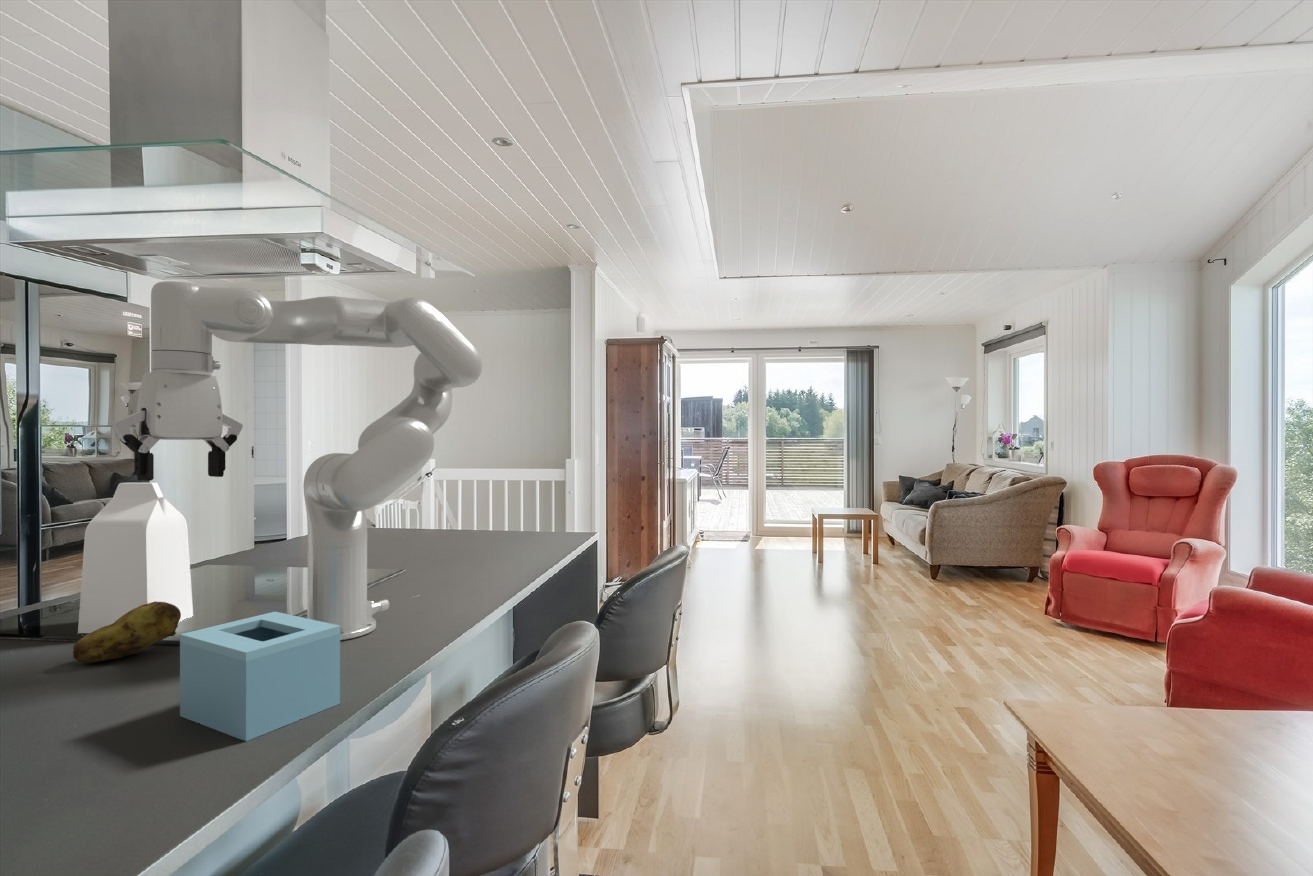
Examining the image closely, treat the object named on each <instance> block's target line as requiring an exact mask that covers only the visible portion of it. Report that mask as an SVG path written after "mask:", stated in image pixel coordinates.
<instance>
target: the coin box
mask: <svg viewBox="0 0 1313 876" xmlns="http://www.w3.org/2000/svg"><path fill="white" fill-rule="evenodd" d="M340 704H341V640H340V626H339V625H334V624H330V623H325V622H321V621H316V620H312V619H307V617H302V616H297V615H292V614H287V613H284V612H280V611H272V612H268V613H267V612H266V613H264V614H259V615H254V616H251V617H246V618H243V619H239V620H234V621H230V622H229V621H228V622H225V623H222V624H218V625H214V626H210V627H209V626H208V627H206V628H205V627H204V628H201V629H195V630H192V631H188V632H184V633H180V634H179V716H180V717H181V718H184V719H186V720H189V721H192V722H194V723H197V724H199V723H200V725H202V726H205V727H207V728H210V729H213V730H216V731H218V732H220V733H223V734H226V735H228V736H231V737H233V738H236V739H238V740H241V741H244V742H248V741H251V740H253V739H256V738H258V737H261V736H263V735H266V734H268V733H271V732H273V731H276V730H279V729H280V728H283V727H285V726H288V725H290V724H292V723H295V722H298V721H301V720H302V719H305V718H308V717H310V715H311V716H314V715H315V714H318V713H320V712H323V711H326V710H328V709H330V708H333V707H335V706H338V705H340ZM300 719H301V720H300Z"/></svg>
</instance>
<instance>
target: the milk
mask: <svg viewBox="0 0 1313 876" xmlns="http://www.w3.org/2000/svg"><path fill="white" fill-rule="evenodd" d="M188 531H189V530H188V523H187V520H186V518H185V516H184V515H183V514H182V513H181V512H180V511H179V510H178V509H177V508H175V507H174V506H173V504H172V503H170V501H168V500H167V499H166V498H165V497H164V494H163V492H162V490H161V488H160V485H159V484H158V482H120V483H118V485H117V487H116V489H115V491H114V494H113V497H112V498H111V499H110V500H109V501H108V502H107V504H106V505H105V506H103V508H101V510H100V511H99V512H98V513H97V514H96V515H95V516H94V517H93V518H92V519H91V520H90V521H89V523H88V524H87V526H86V528H85V532H84V539H83V541H84V542H83V553H82V554H83V555H82V568H81V569H82V570H81V582H80V583H81V585H80V597H79V598H80V599H79V613H78V624H77V625H78V626H77V634H78V633H91V632H93V631H95V630H97V629H100V628H102V627H104V626H108V625H111V624H113V623H114V622H115V621H116V620H118V619H119V618H120V617H122V616H123V615H124V614H126V613H127V612H129V611H131V610H132V609H135V608H137V607H139V606H142V605H144V604H148V603H152V602H155V601H157V602H166V603H169V604H172V605H175V606H176V607H177V608H178V609H179V610H180V613H181V618H180V620H179V623H181V622H183V621H182V620H184V619H186V618H189V619H191V618H193V617H194V607H193V591H192V579H191V578H192V575H191V562H190V561H191V559H190V546H189V533H188ZM192 616H193V617H192ZM190 617H191V618H190ZM186 620H187V619H186ZM180 621H181V622H180ZM184 621H185V620H184Z"/></svg>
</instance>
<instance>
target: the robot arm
mask: <svg viewBox="0 0 1313 876" xmlns="http://www.w3.org/2000/svg"><path fill="white" fill-rule="evenodd" d="M213 336H214V337H216V338H217V339H220V340H223V341H225V342H233V343H248V344H250V343H251V344H252V343H253V344H272V345H273V344H274V345H276V344H277V345H278V344H280V345H282V344H285V345H286V344H287V345H288V344H290V345H312V346H352V347H373V348H374V347H375V348H396V349H397V348H405V347H411V346H414V347H415V348H416V349H417V350H418V351H419V352H420V353H419V354H418V355H417V356H416V359H415V361H414V365H413V385H412V386H413V387H412V390H411V392H410V393H409V395H407V397H405V399H403V400H402V401H401V402H400V403H398V404H397V405H396V406H394V407H393V408H392V409H390V410H389V411H387V412H386V413H385V414H384V415H381V417H379V418H378V419H376V420H375V421H373V422H372V423H370V424H369V425H368V426H366V427H365V428H364V430H363V431H362V432H361V434H360V435H359V438H358V445H357V448H358V449H357V450H356V451H354V452H353V453H344V452H343V453H341V452H338V453H337V452H335V453H334V452H333V453H332V452H331V453H327V454H325V455H322V456H320V457H318V458H316V459H315V460H313V462H311V464H310V465H309V466H308V467H307V469H306V472H305V474H304V477H303V497H304V503H305V505H304V506H305V511H306V520H307V593H306V594H307V609H306V611H307V614H306V615H307V616H306V618H307V619H312V620H316V621H321V622H325V623H330V624H334V625H339V626H340V641H343V640H349V639H355V638H358V637H362V636H365V635H367V634H369V633H371V632H373V631H375V629H376V628H377V621H376V620H377V619H375V618H374V617H373V616H374V615H375V614H376V613H377V612H383V611H386V610H388V609H389V608H390V601H389V600H388V599H382V600H378V601H375V602H374V601H373V600H368V524H367V523H368V522H367V516H366V511H367V510H369V509H372V508H374V507H375V506H377V505H379V504H381V503H382V502H383V501H385V500H386V499H387V498H388V497H389V496H391V495H392V494H393V493H394V492H396V491H397V490H398V489H399V488H400V487H401V486H403V485H404V484H405V483H407V481H409V480H410V479H411V478H412V477H414V476H415V475H416V474H417V473H418V472H419V471H421V470H422V468H423V467H424V466H425V465H427V463H428V462H429V460H430V459H431V457H432V455H433V452H434V449H435V438H434V434H435V433H436V432H437V431H439V430H440V429H441V428H442V426H444V424H445V423H446V422H447V420H448V419H449V416H450V413H451V410H452V403H453V389H454V388H455V389H456V388H464V387H468V386H470V385H473V384H474V383H476V382H477V380H478V379H479V377H480V376H481V374H482V371H483V362H482V358H481V355H480V353H479V351H478V350H477V349H476V347H475V345H473V343H472V342H471V341H470V340H469V339H467V338H466V337H465V335H464V334H463V333H462V332H461V331H460V330H459V329H458V328H457V327H456V326H455V325H454V324H453V323H452V322H451V320H449V319H448V318H447V317H446V316H445V315H444V314H443V313H442V312H441V311H440V310H438V309H437V308H436V307H435V306H434V305H432V304H431V303H430V302H429V301H427V300H425V299H424V298H419V297H415V296H413V297H406V298H403V299H400V300H397V301H396V300H395V301H386V300H376V299H375V300H374V299H366V298H365V299H364V298H357V297H356V298H355V297H354V298H353V297H342V296H336V295H335V296H334V295H332V296H331V295H329V296H328V295H327V296H326V295H325V296H318V297H311V298H304V299H299V300H298V299H297V300H269V299H267V298H266V296H265V295H263V294H262V293H260V292H258V291H256V290H253V289H250V288H243V287H211V286H202V285H199V284H197V283H192V282H184V281H172V280H165V281H158V282H157V283H155V284H153V286H152V287H151V291H150V371H149V372H143V376H142V379H141V384H140V386H139V387H140V388H139V392H138V399H137V407H136V412H134V413H131V414H129V415H127V416H125V417H122V418H120V419H117V420H114V421H113V422H112V423H111V427H112V428H113V430H114V431H115V434H116V435H117V436H118V437H119V441H120V442H121V443H122V444H124V446H126V447H127V448H128V449H129V450H130V452H131V453H133V460H134V461H133V463H134V464H133V465H134V466H133V467H134V468H133V471H134V475H135V476H136V479H137V480H138V481H144V482H145V481H146V482H149V481H152V480H154V477H155V476H154V470H155V469H154V466H155V465H154V463H155V462H154V461H155V460H154V458H155V457H154V453H153V452H150V450H151V449H152V448H153V447H154V446H155V445H156V444H157V443H158V441H161V440H163V441H165V440H166V441H167V440H169V441H173V440H174V441H175V440H177V441H179V440H181V441H184V440H185V441H187V440H188V441H190V440H203V441H204V443H206V444H207V446H209V447H210V449H211V450H210V451H208V453H207V475H208V476H209V477H214V478H222V477H224V473H225V471H226V452H228V451H229V450H230V448H231V447H232V446H233V445H234V443H236V442H237V440H238V436H239V435H240V433H241V431H242V430H243V427H244V426H243V424H242V423H241V422H239V421H237V420H235V419H233V418H231V417H229V416H227V415H225V414H223V406H222V398H221V397H222V396H221V392H220V388H219V383H218V380H217V376H214V375H213V373H214V370H220V369H221V362H220V361H216V360H214V356H213ZM134 425H135V430H136V432H135V433H136V435H137V436H138V438H137V437H136V435H133V434H132V431H131V430H130V428H131V427H132V426H134ZM223 426H224V427H226V428H227V432H226V434H225V435H224V436H223V437H222V434H223V428H224V427H223Z"/></svg>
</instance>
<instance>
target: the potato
mask: <svg viewBox="0 0 1313 876" xmlns="http://www.w3.org/2000/svg"><path fill="white" fill-rule="evenodd" d="M180 618H181V613H180V610H179V609H178V608H177V607H176V606H175V605H172V604H169V603H166V602H157V601H155V602H152V603H148V604H144V605H142V606H139V607H137V608H135V609H132V610H131V611H129V612H127V613H126V614H124V615H123V616H122V617H120V618H119V619H118V620H116V621H115V622H114V623H113V624H111V625H108V626H104V627H102V628H100V629H97V630H95V631H93V632H91V633H90V634H88V635H83V637H81V638H80V639H78V640H77V641H76V642H75V643H74V644H73V647H72V648H73V651H72V653H73V654H72V656H73V660H75V661H78V663H79V662H80V663H84V664H87V665H88V664H95V663H99V662H104V661H110V660H115V659H119V658H125V657H128V656H130V655H134V654H137V653H138V652H140V651H142V650H143V651H144V650H145V649H146V648H149V647H150V646H152V645H154V644H155V643H158V642H160V641H161V642H162V640H166V639H167V638H169V637H173V636H176V634H177V632H176V630H177V628H178V627H179V625H178V624H179V623H180V622H179V620H180ZM178 622H179V623H178Z"/></svg>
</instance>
